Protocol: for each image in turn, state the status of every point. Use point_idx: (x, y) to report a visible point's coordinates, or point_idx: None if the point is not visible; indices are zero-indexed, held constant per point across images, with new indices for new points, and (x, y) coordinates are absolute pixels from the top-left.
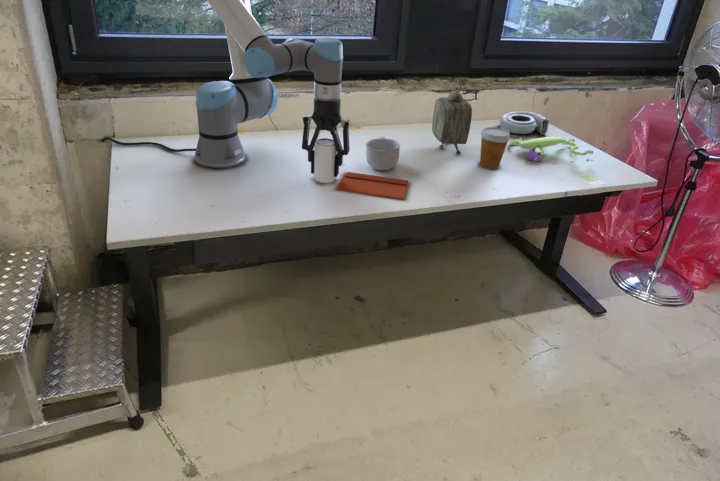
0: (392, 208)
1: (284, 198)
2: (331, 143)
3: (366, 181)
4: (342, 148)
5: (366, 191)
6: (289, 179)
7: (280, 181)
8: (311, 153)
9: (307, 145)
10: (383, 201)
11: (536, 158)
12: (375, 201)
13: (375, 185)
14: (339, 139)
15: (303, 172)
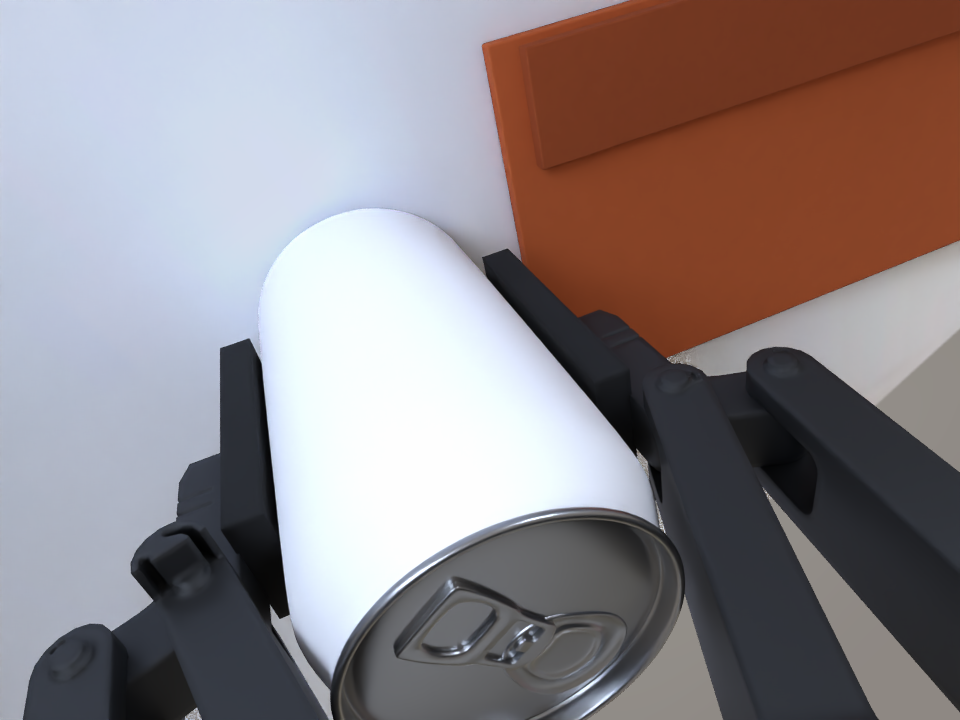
0: (905, 363)
1: (308, 680)
2: (615, 593)
3: (739, 125)
4: (723, 410)
5: (762, 300)
6: (87, 506)
7: (59, 577)
8: (284, 614)
9: (160, 696)
10: (861, 324)
11: None
12: (816, 355)
13: (817, 158)
14: (790, 565)
15: (53, 302)
